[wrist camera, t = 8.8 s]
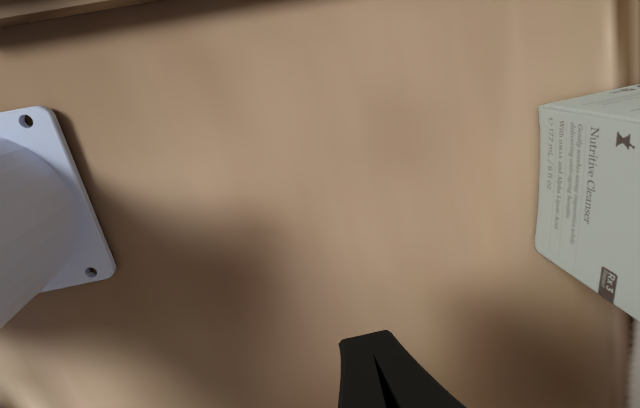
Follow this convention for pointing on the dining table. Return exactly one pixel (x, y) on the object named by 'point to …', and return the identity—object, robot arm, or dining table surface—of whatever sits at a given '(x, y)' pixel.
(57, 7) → the board
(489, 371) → the dining table surface
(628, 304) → the skincare box
